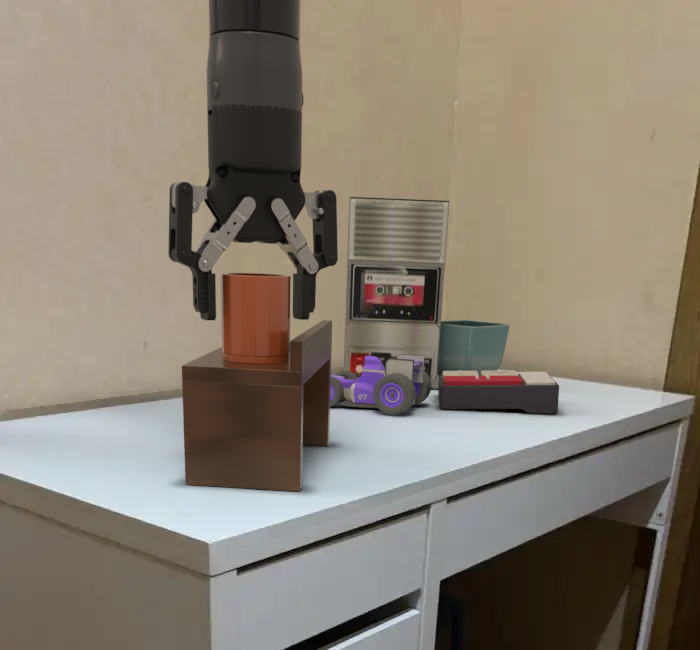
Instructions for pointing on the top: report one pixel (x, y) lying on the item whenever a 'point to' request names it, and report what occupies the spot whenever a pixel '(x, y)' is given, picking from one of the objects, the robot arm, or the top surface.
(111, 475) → the top surface
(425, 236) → the cassette tape recorder
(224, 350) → the pot
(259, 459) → the brown wooden bench
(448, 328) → the flower pot
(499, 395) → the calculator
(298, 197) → the robot arm
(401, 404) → the toy race car
